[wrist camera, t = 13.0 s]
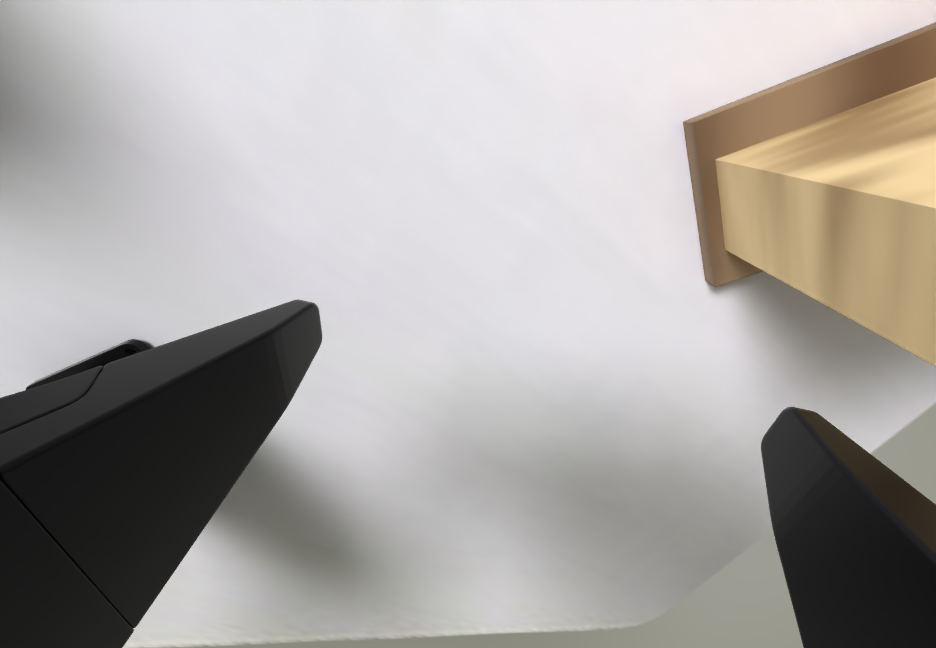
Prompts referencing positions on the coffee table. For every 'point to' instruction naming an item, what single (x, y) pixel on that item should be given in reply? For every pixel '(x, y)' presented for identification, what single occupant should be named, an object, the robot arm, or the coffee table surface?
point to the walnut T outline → (792, 125)
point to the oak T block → (847, 213)
